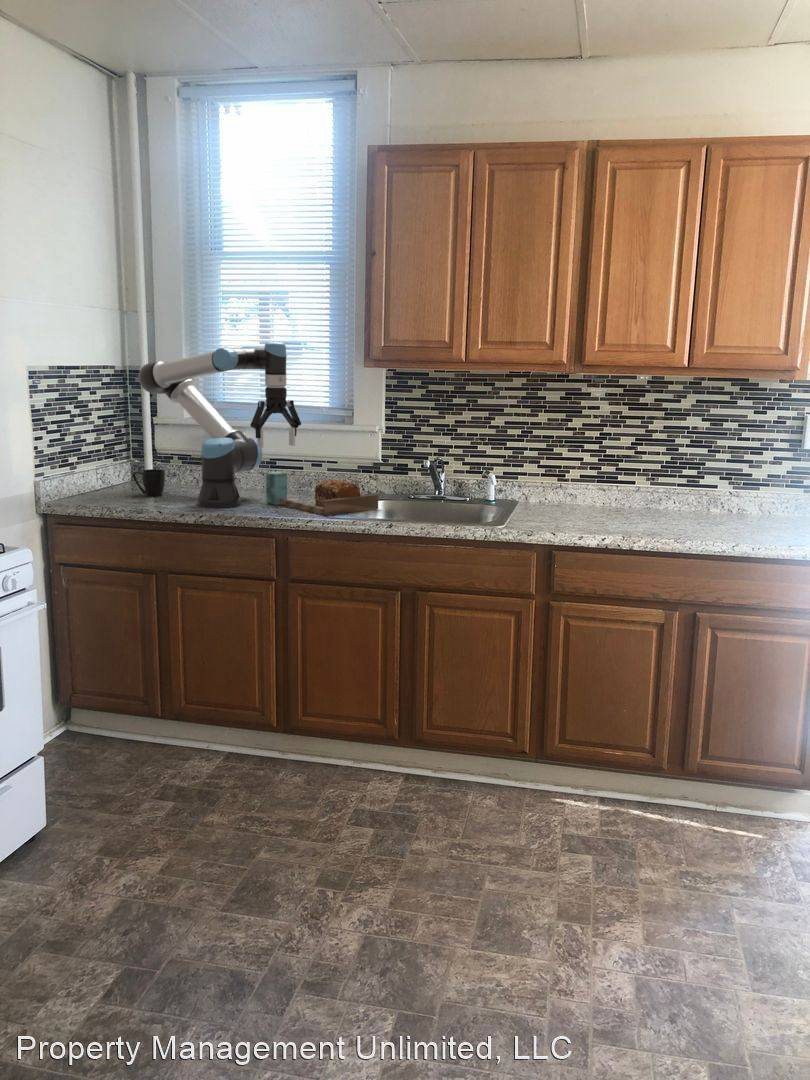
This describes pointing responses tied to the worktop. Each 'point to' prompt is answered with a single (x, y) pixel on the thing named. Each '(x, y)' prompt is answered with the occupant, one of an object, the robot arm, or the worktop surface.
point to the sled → (278, 495)
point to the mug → (152, 482)
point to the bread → (335, 490)
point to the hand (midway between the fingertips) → (276, 446)
